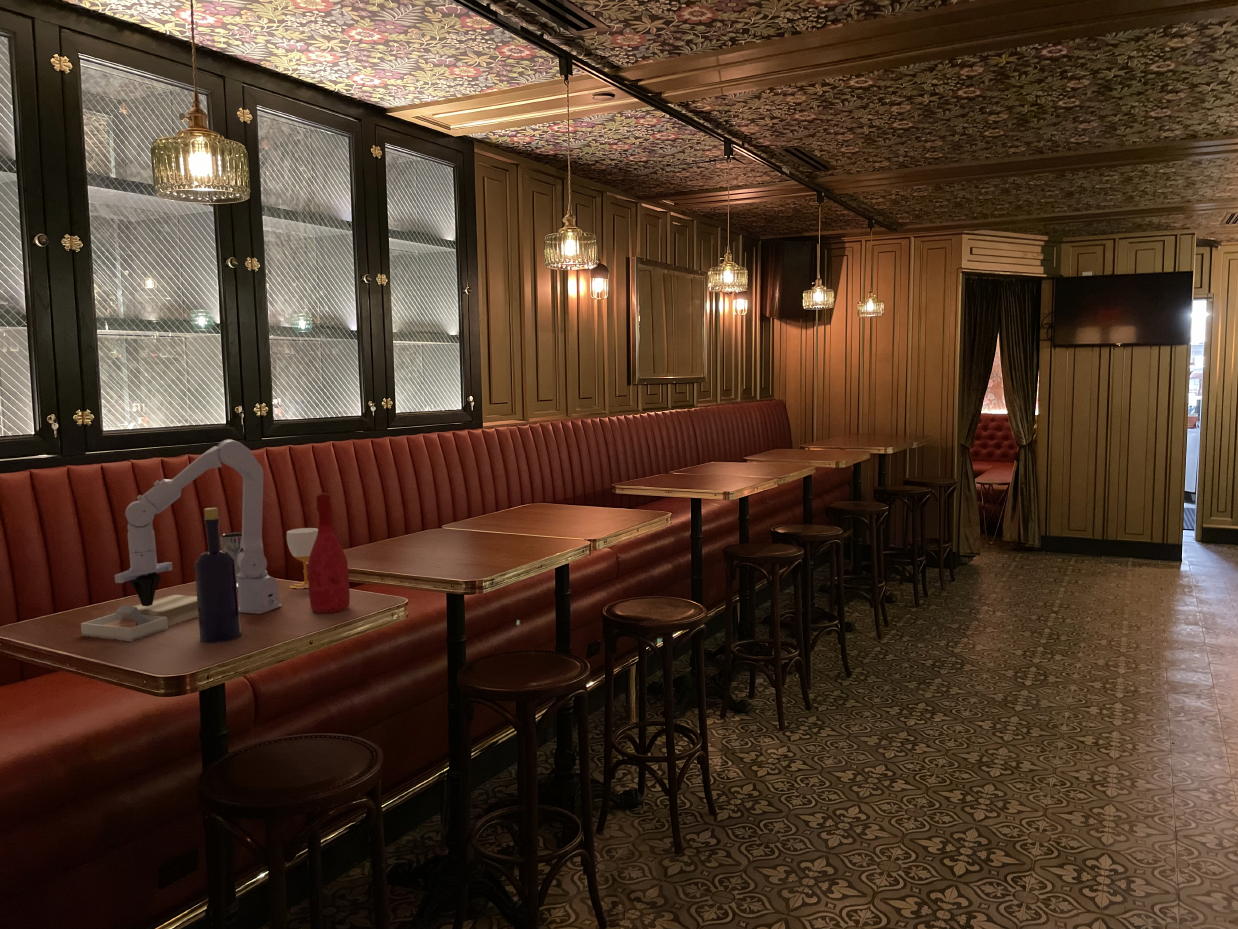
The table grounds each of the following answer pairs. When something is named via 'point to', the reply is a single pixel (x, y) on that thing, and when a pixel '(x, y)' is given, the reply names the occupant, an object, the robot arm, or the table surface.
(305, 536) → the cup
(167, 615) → the board
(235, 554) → the wine glass
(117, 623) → the terracotta tile
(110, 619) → the box
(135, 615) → the slate tile
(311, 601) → the wine bottle
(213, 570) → the bottle
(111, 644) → the table surface
